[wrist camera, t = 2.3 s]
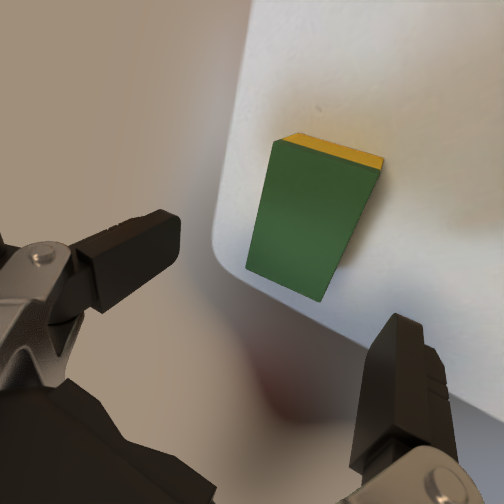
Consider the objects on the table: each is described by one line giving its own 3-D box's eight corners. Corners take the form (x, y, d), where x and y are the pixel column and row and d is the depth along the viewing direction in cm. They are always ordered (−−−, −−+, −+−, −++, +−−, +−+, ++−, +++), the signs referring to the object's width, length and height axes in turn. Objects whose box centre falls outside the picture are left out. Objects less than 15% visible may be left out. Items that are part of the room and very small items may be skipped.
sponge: (268, 242, 18) (244, 268, 16) (297, 132, 14) (272, 141, 12) (333, 270, 17) (320, 303, 14) (384, 157, 13) (379, 174, 10)
